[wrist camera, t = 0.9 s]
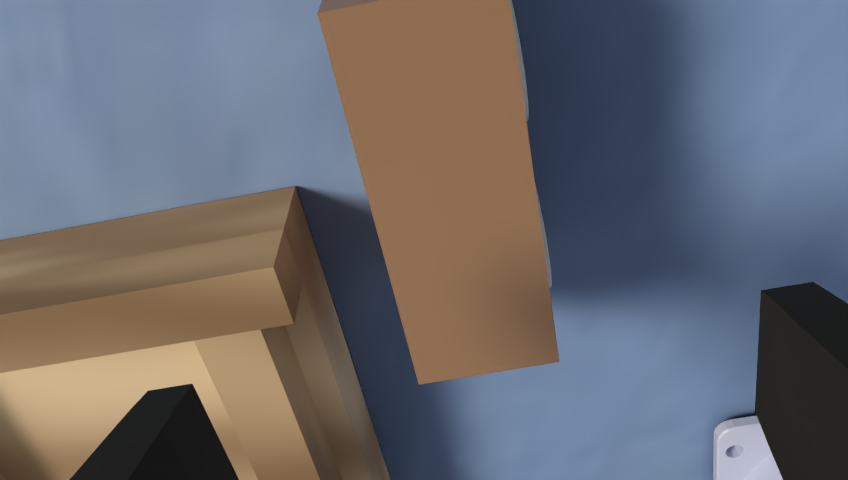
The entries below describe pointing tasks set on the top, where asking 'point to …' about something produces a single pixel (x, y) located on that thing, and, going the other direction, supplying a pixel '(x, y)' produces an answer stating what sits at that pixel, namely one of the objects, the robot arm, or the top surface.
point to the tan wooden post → (448, 177)
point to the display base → (181, 340)
